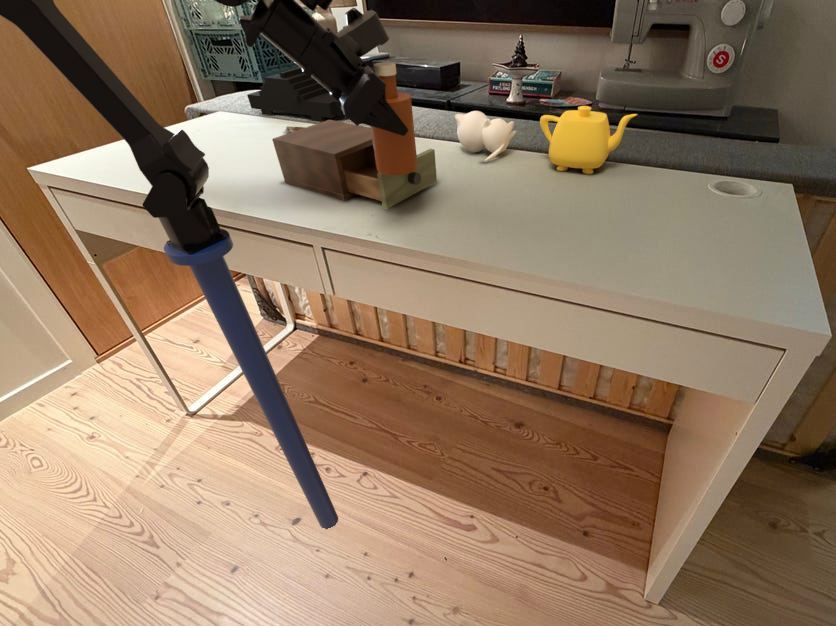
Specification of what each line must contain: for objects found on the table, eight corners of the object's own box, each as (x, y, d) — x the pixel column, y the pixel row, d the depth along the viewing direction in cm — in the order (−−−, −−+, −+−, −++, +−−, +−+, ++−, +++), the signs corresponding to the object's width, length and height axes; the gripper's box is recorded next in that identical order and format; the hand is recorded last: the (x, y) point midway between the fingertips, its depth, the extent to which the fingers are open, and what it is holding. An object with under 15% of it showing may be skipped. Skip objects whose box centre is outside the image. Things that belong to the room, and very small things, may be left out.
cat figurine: (513, 105, 91) (460, 97, 95) (494, 149, 89) (440, 139, 93) (520, 138, 100) (470, 129, 103) (502, 178, 98) (452, 168, 101)
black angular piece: (280, 103, 133) (269, 62, 126) (364, 112, 124) (357, 69, 118) (249, 113, 125) (236, 71, 118) (337, 124, 116) (327, 79, 109)
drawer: (443, 182, 85) (440, 150, 81) (393, 210, 76) (388, 176, 72) (372, 165, 92) (367, 135, 88) (320, 189, 84) (312, 157, 80)
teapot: (629, 161, 94) (640, 103, 87) (623, 181, 86) (635, 119, 79) (543, 152, 99) (547, 96, 91) (530, 170, 91) (534, 111, 84)
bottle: (394, 178, 69) (380, 70, 60) (368, 168, 72) (351, 64, 63) (426, 167, 73) (417, 63, 63) (400, 158, 76) (388, 58, 66)
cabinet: (396, 175, 90) (390, 131, 85) (344, 200, 82) (334, 154, 76) (338, 160, 97) (329, 119, 91) (285, 182, 88) (271, 138, 83)
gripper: (353, -12, 50) (454, 94, 60) (333, -21, 63) (419, 67, 73) (297, 78, 53) (402, 164, 63) (289, 52, 66) (377, 126, 76)
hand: (401, 126), depth 69 cm, fingers closed on bottle, 6 cm apart
